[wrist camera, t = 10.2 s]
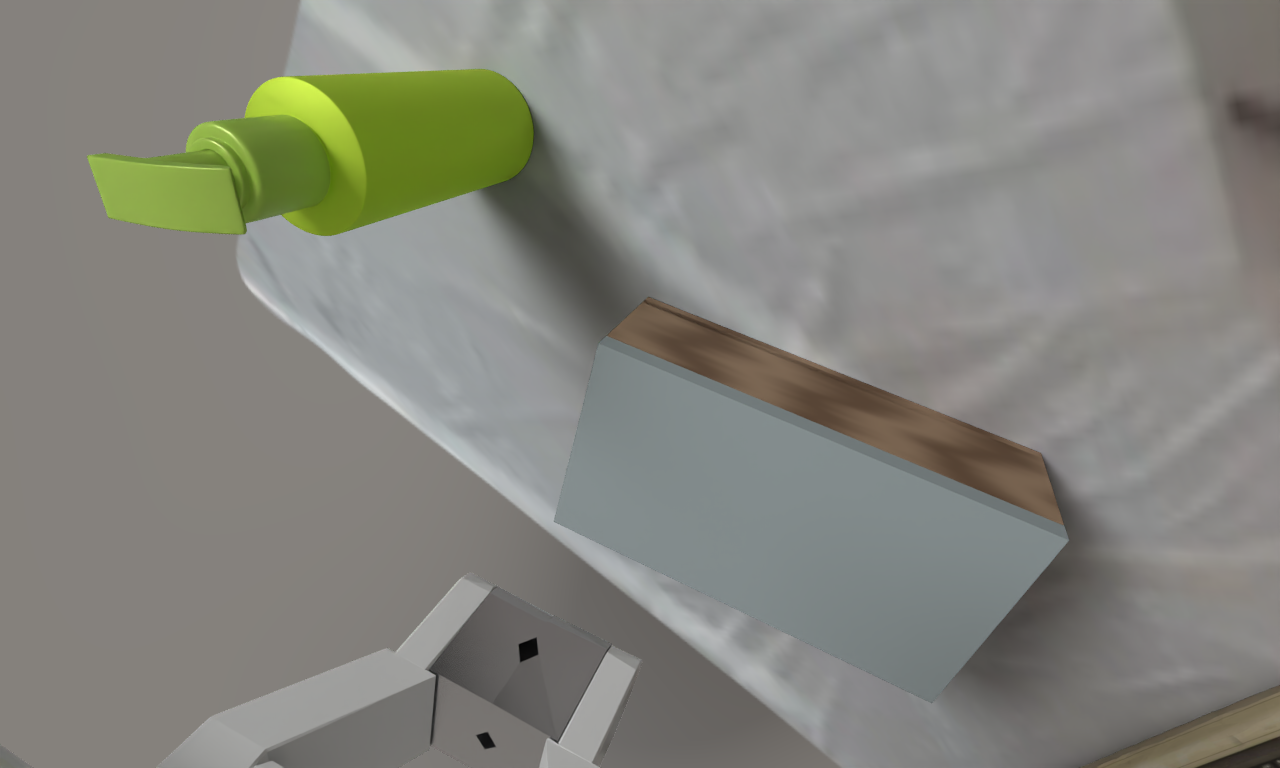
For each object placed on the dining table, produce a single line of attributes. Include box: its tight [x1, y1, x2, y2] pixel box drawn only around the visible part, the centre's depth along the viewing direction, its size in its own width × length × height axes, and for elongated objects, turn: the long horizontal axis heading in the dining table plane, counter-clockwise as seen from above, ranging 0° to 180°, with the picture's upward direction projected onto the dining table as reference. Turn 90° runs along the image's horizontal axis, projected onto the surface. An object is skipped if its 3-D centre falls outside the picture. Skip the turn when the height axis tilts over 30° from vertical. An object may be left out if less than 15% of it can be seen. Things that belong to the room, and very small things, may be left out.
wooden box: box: [607, 297, 1064, 525], centre depth 36 cm, size 22×12×6 cm, turn 74°
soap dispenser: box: [87, 69, 534, 236], centre depth 28 cm, size 6×7×20 cm
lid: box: [554, 336, 1069, 703], centre depth 33 cm, size 22×12×1 cm, turn 74°
